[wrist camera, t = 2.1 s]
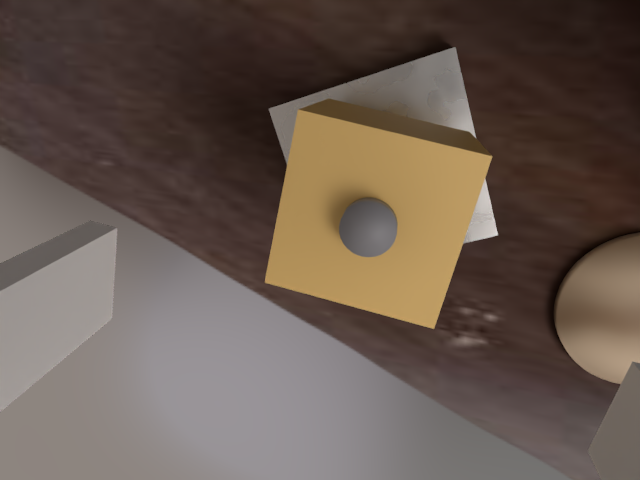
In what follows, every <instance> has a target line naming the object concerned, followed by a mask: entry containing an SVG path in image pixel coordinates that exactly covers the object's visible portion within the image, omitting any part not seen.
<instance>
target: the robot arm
mask: <svg viewBox="0 0 640 480" xmlns="http://www.w3.org/2000/svg"><path fill="white" fill-rule="evenodd" d="M116 244H117V227H113V226H109V225H105V224H101V223H98V222H94V221H89V222H86V223H84V224H82V225H80V226H78V227H76V228H74V229H72V230H70V231H67V232H65V233H63V234H61V235H59V236H57V237H55V238H53V239H51V240H49V241H47V242H45V243H42V244H40V245H38V246H36V247H34V248H32V249H30V250H28V251H26V252H23V253H21V254H19V255H17V256H15V257H13V258H11V259H9V260H6V261H4V262H3V263H0V412H1V411H2V410H3V409H4V408H6V407H7V406H8V405H9V404H10V403H12V402H13V401H14V400H15V399H16V398H18V397H19V396H20V395H21V394H22V393H24V392H25V391H26V390H27V389H28V388H29V387H31V386H32V385H33V384H34V383H35V382H37V381H38V380H39V379H40V378H42V377H43V376H44V375H45V374H46V373H48V372H49V371H50V370H51V369H52V368H54V367H55V366H56V365H57V364H58V363H59V362H61V361H62V360H63V359H64V358H65V357H67V356H68V355H69V354H70V353H71V352H73V351H74V350H75V349H76V348H77V347H78V346H80V345H81V344H82V343H83V342H85V341H86V340H87V339H88V338H89V337H91V336H92V335H93V334H94V333H95V332H96V331H98V330H99V329H100V328H101V327H102V326H104V325H105V324H106V323H107V322H109V320H111V319H112V311H113V294H114V277H115V261H116ZM588 453H589V455H590V457H591V459H592V462H593V464H594V466H595V468H596V470H597V472H598V475H599V477H600V479H601V480H640V363H637V362H633V361H632V363H631V365H630V367H629V369H628V371H627V373H626V375H625V377H624V379H623V381H622V383H621V385H620V387H619V389H618V391H617V393H616V395H615V397H614V399H613V401H612V403H611V405H610V407H609V409H608V411H607V413H606V415H605V417H604V419H603V421H602V423H601V425H600V427H599V429H598V431H597V433H596V435H595V437H594V439H593V441H592V443H591V445H590V447H589V449H588Z"/></svg>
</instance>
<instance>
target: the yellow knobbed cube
mask: <svg viewBox="0 0 640 480" xmlns="http://www.w3.org/2000/svg"><path fill="white" fill-rule="evenodd" d="M491 159H492V155H491V154H490V153H489V152H488V151H487V150H486V149H485V148H484V147H483V146H482V145H481V143H480V142H479V141H478V140H477V139H476V138H475V137H474V136H473V135H472V134H471V133H470V132H468V131H464V130H460V129H455V128H451V127H447V126H443V125H438V124H434V123H430V122H426V121H422V120H417V119H413V118H409V117H405V116H401V115H396V114H392V113H388V112H384V111H380V110H375V109H371V108H367V107H363V106H359V105H354V104H350V103H346V102H342V101H338V100H333V99H329V98H328V99H326V100H323V101H320V102H317V103H315V104H312V105H309V106H306V107H303V108H301V109H298V112H297V117H296V122H295V128H294V133H293V138H292V143H291V148H290V153H289V159H288V164H287V169H286V174H285V179H284V185H283V190H282V195H281V200H280V205H279V210H278V216H277V221H276V226H275V231H274V236H273V242H272V247H271V252H270V257H269V262H268V268H267V273H266V278H265V283H269V284H272V285H276V286H279V287H283V288H287V289H290V290H294V291H298V292H301V293H305V294H309V295H312V296H316V297H320V298H323V299H327V300H330V301H334V302H338V303H341V304H345V305H349V306H352V307H356V308H360V309H363V310H367V311H371V312H374V313H378V314H381V315H385V316H389V317H392V318H396V319H400V320H403V321H407V322H411V323H414V324H418V325H422V326H425V327H429V328H432V329H434V327H435V324H436V321H437V318H438V315H439V312H440V310H441V307H442V304H443V301H444V298H445V295H446V292H447V289H448V286H449V283H450V280H451V277H452V274H453V271H454V268H455V265H456V262H457V259H458V256H459V254H460V251H461V248H462V245H463V242H464V239H465V236H466V233H467V230H468V227H469V224H470V221H471V218H472V215H473V212H474V209H475V206H476V203H477V200H478V197H479V195H480V192H481V189H482V186H483V183H484V180H485V177H486V174H487V171H488V168H489V165H490V162H491Z"/></svg>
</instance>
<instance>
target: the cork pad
mask: <svg viewBox="0 0 640 480" xmlns="http://www.w3.org/2000/svg"><path fill="white" fill-rule="evenodd" d="M554 322H555V327H556V331H557V334H558V336H559V338H560V340H561V342H562V344H563V346H564V348H565V349H566V351H567V352H568V354H569V355H570V356H571V357H572V359H573V360H574V361H575V362H576V363H577V364H578V365H580V366H581V367H582V368H583V369H585V370H586V371H588V372H589V373H591V374H593V375H595V376H597V377H599V378H601V379H604V380H607V381H610V382H614V383H618V384H621V383H622V381H623V379H624V377H625V375H626V373H627V371H628V369H629V367H630V365H631V363H632V361H633V362H637V363H640V233H633V234H628V235H624V236H621V237H617V238H615V239H612V240H610V241H607V242H605V243H603V244H601V245H599V246H597V247H595V248H594V249H593V250H591V251H590V252H588V253H587V254H585V255H584V256H583V257H582V258H581V259H580V260H578V261H577V262H576V263H575V264H574V266H573V267H572V268H571V269H570V270H569V272H568V273H567V274H566V276H565V277H564V279H563V281H562V283H561V285H560V287H559V289H558V292H557V295H556V298H555V303H554Z"/></svg>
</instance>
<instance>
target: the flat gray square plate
mask: <svg viewBox="0 0 640 480" xmlns="http://www.w3.org/2000/svg"><path fill="white" fill-rule="evenodd" d="M328 98H329V99H333V100H338V101H342V102H346V103H350V104H354V105H359V106H363V107H367V108H371V109H375V110H380V111H384V112H388V113H392V114H396V115H401V116H405V117H409V118H413V119H417V120H422V121H426V122H430V123H434V124H438V125H443V126H447V127H451V128H455V129H460V130H464V131H468V132H470V133H471V134H472V135H473V136H474V137H475V138H476V136H475V131H474V127H473V123H472V118H471V114H470V109H469V105H468V100H467V96H466V92H465V87H464V83H463V78H462V74H461V70H460V65H459V61H458V56H457V52H456V48H455V47H453V48H450V49H447V50H444V51H441V52H438V53H435V54H432V55H429V56H426V57H423V58H420V59H417V60H414V61H411V62H408V63H405V64H402V65H399V66H396V67H393V68H390V69H387V70H384V71H381V72H378V73H375V74H372V75H369V76H366V77H363V78H360V79H357V80H354V81H351V82H348V83H345V84H342V85H339V86H336V87H333V88H330V89H327V90H324V91H320V92H317V93H314V94H311V95H308V96H305V97H302V98H299V99H296V100H293V101H290V102H287V103H284V104H281V105H278V106H275V107H272V108H269V112H270V115H271V118H272V121H273V124H274V127H275V130H276V133H277V136H278V139H279V142H280V145H281V148H282V151H283V154H284V157H285V160H286V163H287V164H288V159H289V153H290V148H291V143H292V138H293V133H294V128H295V122H296V117H297V112H298V109H301V108H303V107H306V106H309V105H312V104H315V103H317V102H320V101H323V100H326V99H328ZM497 235H498V233H497V228H496V224H495V220H494V215H493V211H492V206H491V202H490V198H489V193H488V189H487V184H486V180H484V183H483V186H482V189H481V192H480V195H479V197H478V200H477V203H476V206H475V209H474V212H473V215H472V218H471V221H470V224H469V227H468V230H467V233H466V236H465V239H464V242H463V243H467V242H471V241H476V240H480V239H484V238H489V237H493V236H497Z"/></svg>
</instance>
